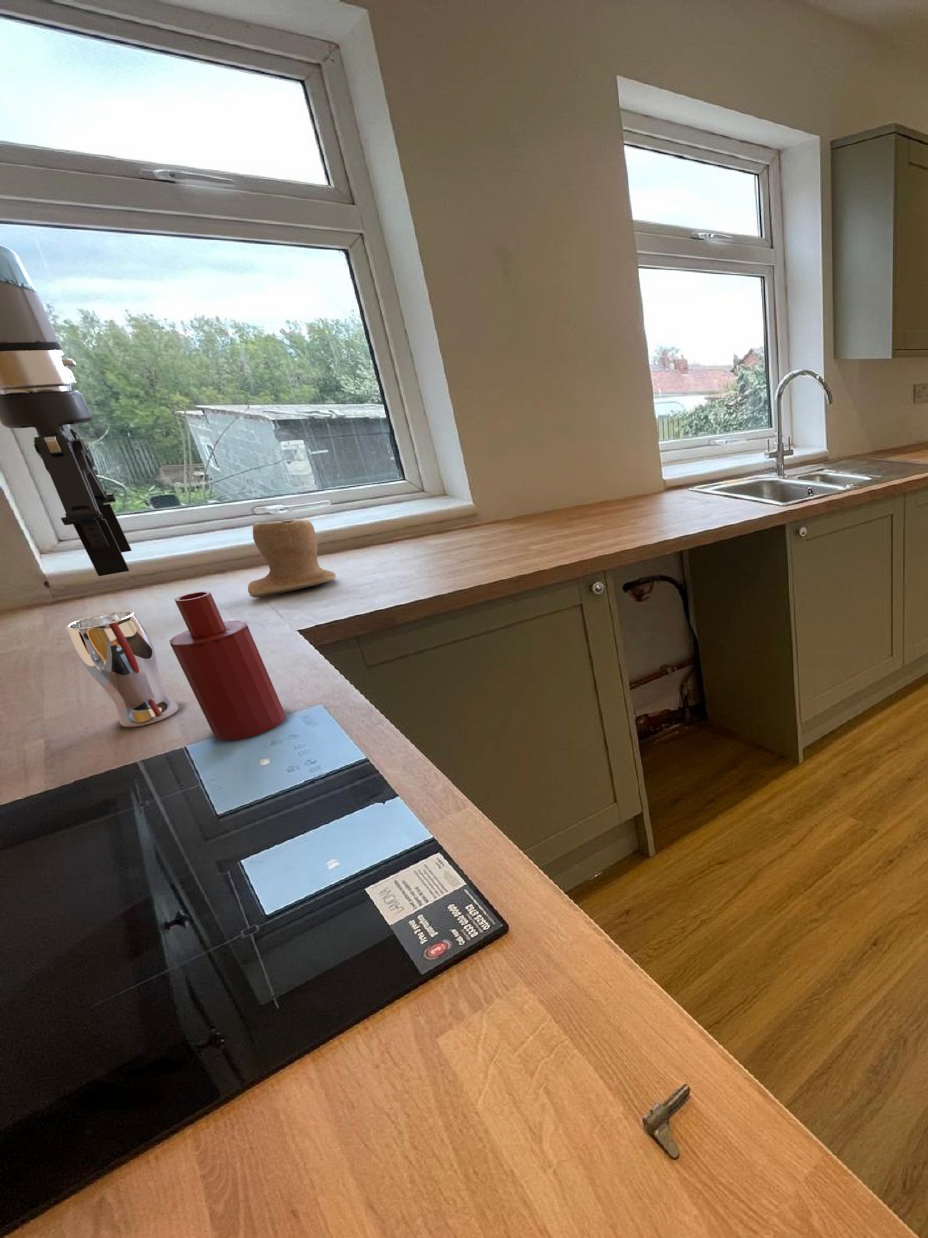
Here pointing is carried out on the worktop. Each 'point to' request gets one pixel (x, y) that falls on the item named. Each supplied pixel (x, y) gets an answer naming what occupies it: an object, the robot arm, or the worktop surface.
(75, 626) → the beer glass
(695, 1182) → the worktop surface
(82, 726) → the worktop surface
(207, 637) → the sauce bottle
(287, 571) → the brown top hat
